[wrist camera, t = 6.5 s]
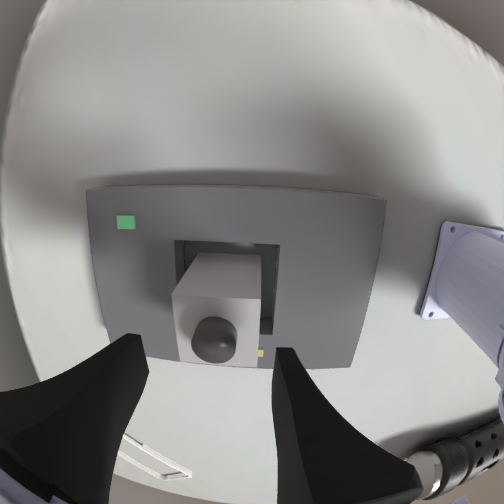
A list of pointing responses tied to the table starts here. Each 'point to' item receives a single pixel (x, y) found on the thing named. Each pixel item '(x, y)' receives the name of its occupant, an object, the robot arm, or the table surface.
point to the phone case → (157, 456)
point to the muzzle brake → (458, 459)
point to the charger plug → (219, 310)
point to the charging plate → (239, 231)
